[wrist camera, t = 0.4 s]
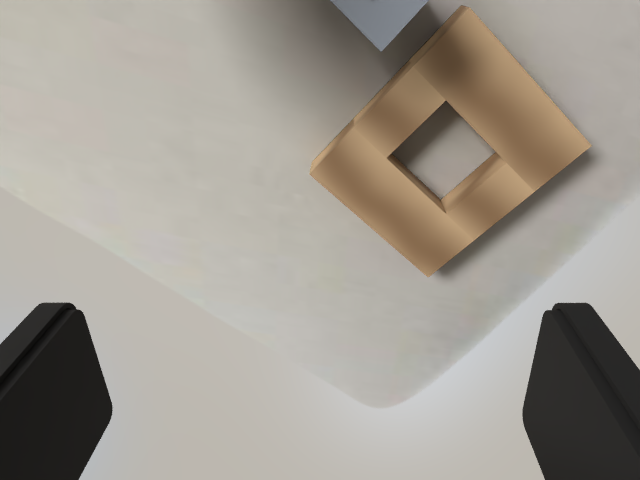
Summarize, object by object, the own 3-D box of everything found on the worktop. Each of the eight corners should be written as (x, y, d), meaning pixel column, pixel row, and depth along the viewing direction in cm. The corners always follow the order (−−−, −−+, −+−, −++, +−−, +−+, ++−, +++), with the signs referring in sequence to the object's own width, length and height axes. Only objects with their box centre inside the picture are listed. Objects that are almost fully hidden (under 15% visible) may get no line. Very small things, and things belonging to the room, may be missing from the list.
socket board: (461, 5, 31) (469, 7, 28) (576, 134, 34) (591, 145, 32) (311, 162, 36) (309, 174, 34) (424, 260, 39) (428, 277, 37)
